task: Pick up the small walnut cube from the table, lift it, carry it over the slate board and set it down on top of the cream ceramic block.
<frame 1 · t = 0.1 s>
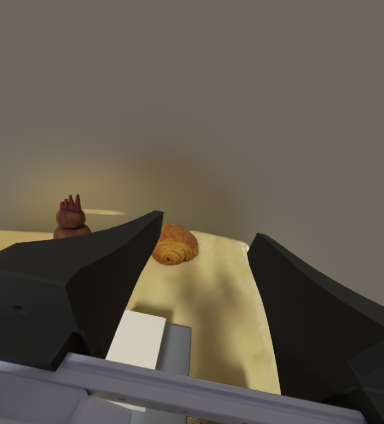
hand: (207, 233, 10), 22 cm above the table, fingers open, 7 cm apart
wooden figurine: (76, 253, 32), on the table
croissant: (172, 249, 41), on the table
slate board: (133, 375, 17), on the table
cream block: (129, 360, 18), point 1 cm above the table, touching slate board
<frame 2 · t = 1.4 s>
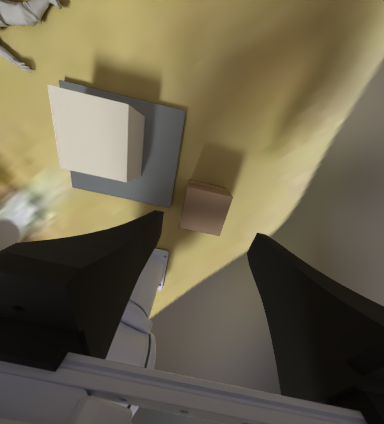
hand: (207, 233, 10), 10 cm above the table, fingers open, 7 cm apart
soldier figure: (14, 22, 14), on the table
walnut cube: (202, 200, 20), on the table
slate board: (125, 153, 18), on the table
cream block: (114, 143, 17), point 1 cm above the table, touching slate board
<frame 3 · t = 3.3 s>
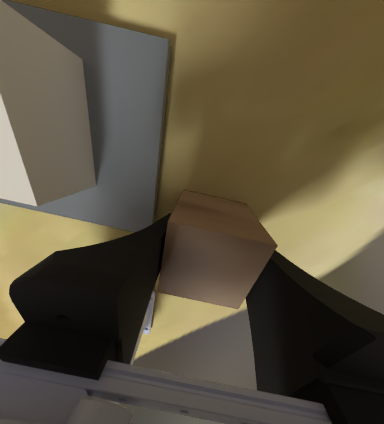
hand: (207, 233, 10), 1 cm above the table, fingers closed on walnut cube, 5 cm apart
walnut cube: (206, 223, 12), on the table, touching gripper
slate board: (64, 142, 10), on the table
cream block: (36, 121, 9), point 1 cm above the table, touching slate board
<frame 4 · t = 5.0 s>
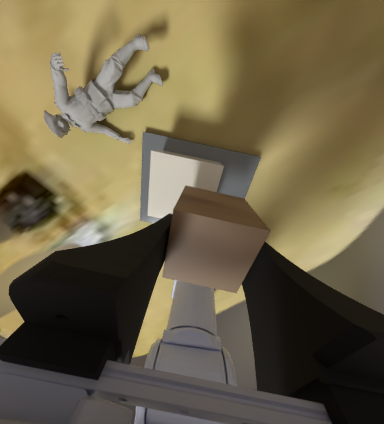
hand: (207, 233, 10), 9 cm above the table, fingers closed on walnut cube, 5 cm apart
soldier figure: (116, 103, 15), on the table
walnut cube: (207, 217, 12), point 7 cm above the table, touching gripper
slate board: (192, 191, 19), on the table
cream block: (186, 184, 18), point 1 cm above the table, touching slate board
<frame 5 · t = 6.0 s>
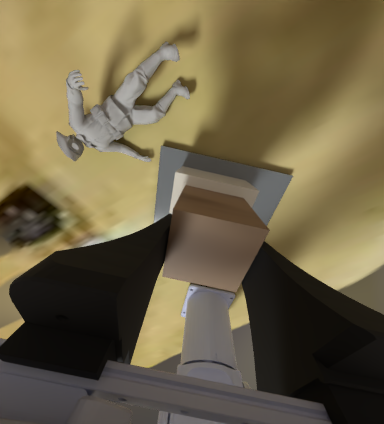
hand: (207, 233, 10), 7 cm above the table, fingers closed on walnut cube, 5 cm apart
soldier figure: (134, 119, 14), on the table
walnut cube: (207, 217, 12), point 5 cm above the table, touching cream block, gripper
slate board: (211, 209, 17), on the table
cream block: (206, 202, 16), point 1 cm above the table, touching slate board, walnut cube
when the fingers open (7 cm above the table, at t = 6.6 s): walnut cube stays where it is, resting on cream block.
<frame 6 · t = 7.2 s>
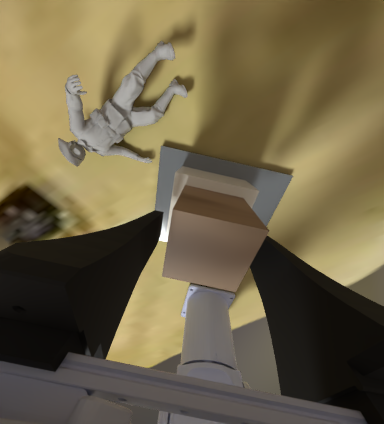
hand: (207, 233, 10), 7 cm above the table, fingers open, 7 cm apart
soldier figure: (133, 121, 14), on the table
walnut cube: (206, 217, 12), point 5 cm above the table, touching cream block
slate board: (211, 210, 17), on the table
cream block: (206, 202, 16), point 1 cm above the table, touching slate board, walnut cube
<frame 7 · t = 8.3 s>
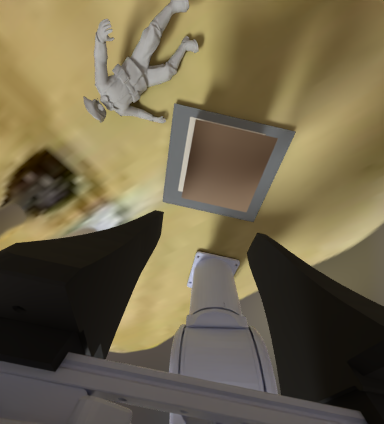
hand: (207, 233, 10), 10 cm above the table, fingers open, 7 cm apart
soldier figure: (148, 83, 15), on the table
walnut cube: (217, 164, 14), point 5 cm above the table, touching cream block
slate board: (219, 171, 18), on the table
cream block: (214, 162, 17), point 1 cm above the table, touching slate board, walnut cube
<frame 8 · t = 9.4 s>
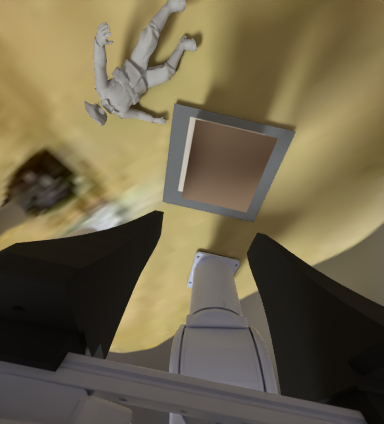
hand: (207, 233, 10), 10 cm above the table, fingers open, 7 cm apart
soldier figure: (147, 85, 15), on the table
walnut cube: (217, 164, 14), point 5 cm above the table, touching cream block
slate board: (219, 171, 18), on the table
cream block: (214, 162, 17), point 1 cm above the table, touching slate board, walnut cube
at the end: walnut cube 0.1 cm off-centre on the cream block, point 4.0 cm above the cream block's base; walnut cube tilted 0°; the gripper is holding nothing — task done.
